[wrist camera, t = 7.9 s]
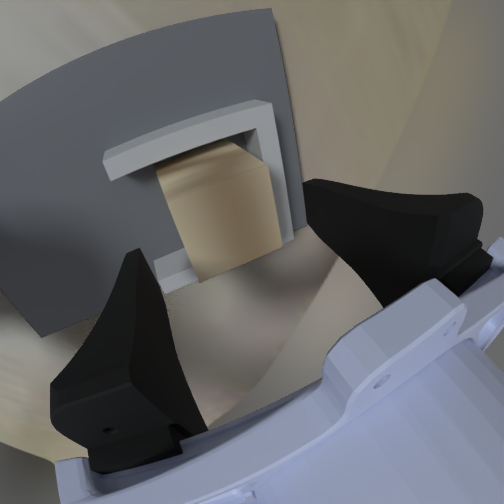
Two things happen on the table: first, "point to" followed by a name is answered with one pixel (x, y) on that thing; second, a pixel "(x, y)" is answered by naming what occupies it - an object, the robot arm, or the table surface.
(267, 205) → the connector block
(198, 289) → the table surface
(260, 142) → the holder board
